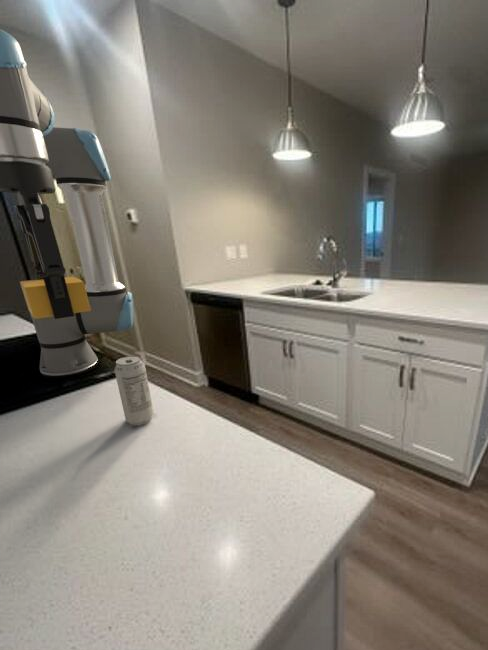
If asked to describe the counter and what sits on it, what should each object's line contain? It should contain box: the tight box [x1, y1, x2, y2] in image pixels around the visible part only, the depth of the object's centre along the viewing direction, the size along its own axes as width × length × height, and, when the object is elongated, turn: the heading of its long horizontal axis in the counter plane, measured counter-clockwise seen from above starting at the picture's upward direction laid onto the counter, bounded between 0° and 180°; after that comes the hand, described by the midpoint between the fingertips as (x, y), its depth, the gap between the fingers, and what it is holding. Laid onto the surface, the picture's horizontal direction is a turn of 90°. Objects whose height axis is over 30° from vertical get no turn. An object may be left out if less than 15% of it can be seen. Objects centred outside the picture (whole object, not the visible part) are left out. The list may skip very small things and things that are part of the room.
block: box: [19, 275, 91, 319], centre depth 59 cm, size 8×8×5 cm
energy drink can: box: [114, 355, 155, 426], centre depth 77 cm, size 6×6×15 cm
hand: (59, 312), depth 60 cm, fingers closed on block, 8 cm apart
